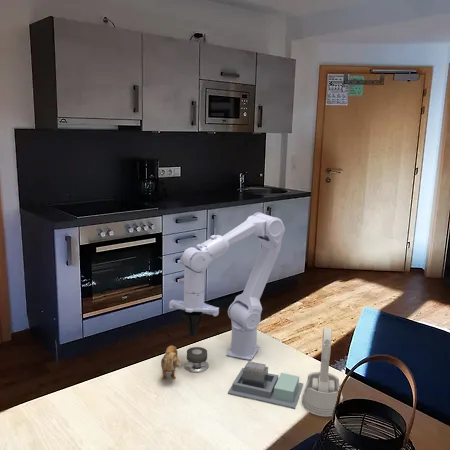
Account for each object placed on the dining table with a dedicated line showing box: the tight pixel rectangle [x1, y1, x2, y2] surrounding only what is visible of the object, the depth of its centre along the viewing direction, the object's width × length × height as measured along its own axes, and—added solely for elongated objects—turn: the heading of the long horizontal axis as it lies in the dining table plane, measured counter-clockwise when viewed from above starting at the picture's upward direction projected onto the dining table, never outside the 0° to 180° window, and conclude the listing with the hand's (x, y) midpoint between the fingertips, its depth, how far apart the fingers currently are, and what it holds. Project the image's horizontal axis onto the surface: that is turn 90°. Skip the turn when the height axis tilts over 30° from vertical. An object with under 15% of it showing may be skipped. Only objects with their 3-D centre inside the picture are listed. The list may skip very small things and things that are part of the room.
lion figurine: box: [160, 345, 182, 381], centre depth 132 cm, size 15×5×9 cm, turn 9°
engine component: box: [301, 326, 344, 417], centre depth 119 cm, size 11×20×10 cm
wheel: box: [186, 346, 208, 363], centre depth 136 cm, size 6×6×2 cm
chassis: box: [227, 367, 304, 410], centre depth 126 cm, size 12×18×3 cm, turn 71°
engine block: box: [242, 360, 269, 389], centre depth 127 cm, size 4×6×6 cm
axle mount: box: [184, 360, 210, 374], centre depth 137 cm, size 7×7×2 cm
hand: (193, 334), depth 135 cm, fingers closed
